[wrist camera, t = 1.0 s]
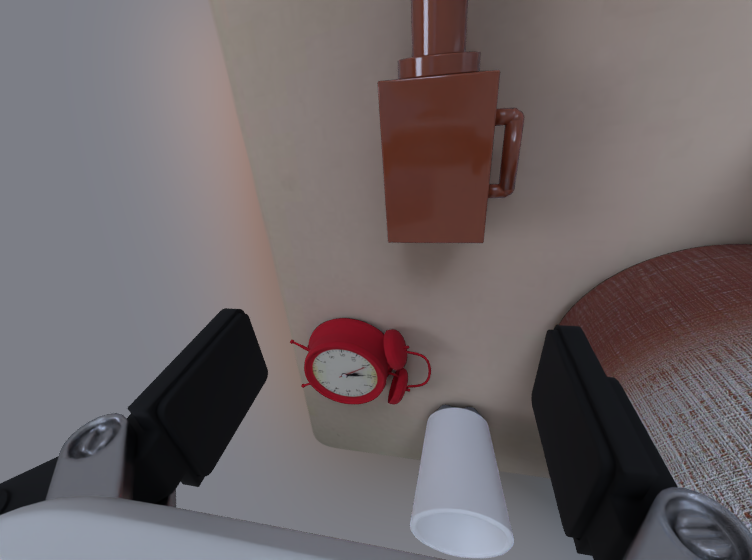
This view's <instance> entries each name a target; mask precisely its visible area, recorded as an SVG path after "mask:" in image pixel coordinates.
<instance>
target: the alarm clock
mask: <svg viewBox="0 0 752 560" xmlns="http://www.w3.org/2000/svg"><path fill="white" fill-rule="evenodd" d="M290 343H291V344H292V343H294V344H296V345H298V346H300V347H301V348H303V349H305V350H307V351H309V353H308V354H307V356H306V359H305V365H304V371H305V375H306V378H307V380H308V381H309V383H307V384H302V387H303V388H304V387H305V386H307V385H311V386H312V387H313V388H314V389H315V390H316V391H318V392H319V393H320V394H322V395H323V396H325V397H327V398H329V399H331V400H333V401H337V402H340V403H344V404H363V403H367V402H370V401H372V400H374V399H375V398H377V397H378V396H379V395H380V393H381V392H382V391H383V389H384V387H385V385H386V379H387V377H388V376H389V375H393V376H394V377H393V380H392V383H391V387H390V391H389V396H388V403H389V404H397V403H399V402H400V401H401V400H402V398H403V396H404V393H405V391H409V392H410V389H408V388H410V387H420V386H423V385H425V384H426V383H427V382H428V381H429V379H430V375H431V366H430V363H429V360H428V359H427V358H426V357H425V356H424V355H422V354H419V353H416V352H410V351H407V349H409V346H406V344H405V341H404V338H403V336H402V335H401V334H400V333H399V332H398V331H397V330H394V329H391V330H386V332H385V334H383V333H382V332H381V331H380V330H378V329H377V328H375V327H374V326H372V325H370V324H368V323H365V322H363V321H359V320H355V319H349V318H339V319H332V320H329V321H326V322H324V323H322V324H321V325H319V326H318V327H317V328H316V329H315V330H314V331H313V333H312V335H311V337H310V340H309V345H308V348H307V347H305V346H303V345H301V344H298V343H296V342H294V340H291V341H290ZM407 353H408V354H413V355H418V356H420V357H422V358H424V359H425V360H426V362H427V364H428V369H429V373H428V378H427V380H426V381H425V382H424V383H422V384H418V385H408V386H407V383H408V373H407V371H406V369H405V368H403V367H404V366H405V364H406V361H407ZM393 369H394V370H396V372H395V374H394V373H392V370H393Z"/></svg>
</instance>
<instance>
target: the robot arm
mask: <svg viewBox="0 0 752 560" xmlns="http://www.w3.org/2000/svg"><path fill="white" fill-rule="evenodd" d="M267 375H268V370H267V367H266V364H265V361H264V358H263V355H262V353H261V350H260V347H259V344H258V341H257V338H256V336H255V333H254V330H253V327H252V324H251V322H250V319H249V316H248V315H247V314H245V313H244V311H243V310H241V309H227V308H226V309H223V310H221V311H220V312H219V313H218V314H217V315H216V316H215V317H214V318H213V319H212V320H211V322H210V323H209V324H208V325H207V326H206V327H205V328H204V329H203V330H202V331H201V332H200V333H199V334H198V335H197V336H196V337H195V338H194V339H193V340H192V342H190V343H189V344H188V345H187V347H186V348H185V349H184V350H183V351H182V352H181V353H180V354H179V355H178V356H177V357H176V358H175V359H174V360H173V361H172V362H171V363H170V364H169V365H168V366H167V367H166V368H165V370H164V371H163V372H162V373H161V374H160V375H159V376H158V377H157V378H156V379H155V380H154V381H153V382H152V383H151V384H150V385H149V386H148V387H147V388H146V389H145V390H144V391H143V392H142V393H141V395H140V396H139V397H138V398H137V399H136V400H135V401H134V402H133V403H132V404H131V405H130V406H129V407H128V410H129V411H130V412H131V414H130V415H129V417H128V418H127V419H126V418H125V417H124V416H123V415H122V414H117V413H115V414H107V415H104V416H100V417H98V418H96V419H94V420H92V421H90V422H88V423H86V424H85V425H84V426H82V427H80V428H79V429H78V430H77V431H76V432H74V433H73V434H72V435H71V436H70V437H69V438H68V440H67V441H66V442H65V443H64V445H63V447H62V449H61V451H60V454H59V456H58V457H56V458H54V459H52V460H50V461H47V462H46V463H43V464H41V465H39V466H37V467H35V468H33V469H31V470H29V471H26V472H24V473H22V474H20V475H18V476H16V477H14V478H11V479H9V480H7V481H5V482H3V483H1V484H0V560H445V559H440V558H435V557H430V556H425V555H420V554H415V553H410V552H405V551H400V550H395V549H390V548H385V547H379V546H375V545H370V544H364V543H359V542H354V541H349V540H344V539H339V538H333V537H328V536H323V535H318V534H313V533H307V532H302V531H297V530H291V529H287V528H281V527H276V526H271V525H266V524H260V523H255V522H250V521H245V520H239V519H233V518H229V517H223V516H218V515H212V514H207V513H202V512H196V511H191V510H186V509H180V508H176V488H177V486H178V484H179V483H180V481H181V482H182V484H185V485H191V486H196V487H199V486H200V484H201V482H202V481H203V479H204V477H205V476H207V475H209V474H210V473H211V472H212V470H213V469H214V467H215V466H216V464H217V462H218V461H219V459H220V457H221V456H222V454H223V452H224V450H225V449H226V447H227V445H228V444H229V442H230V440H231V439H232V437H233V435H234V434H235V432H236V430H237V428H238V427H239V425H240V423H241V422H242V420H243V418H244V417H245V415H246V413H247V412H248V410H249V408H250V407H251V405H252V403H253V402H254V400H255V398H256V396H257V395H258V393H259V391H260V390H261V388H262V386H263V385H264V383H265V381H266V379H267ZM532 407H533V411H534V415H535V419H536V423H537V426H538V430H539V434H540V438H541V442H542V446H543V450H544V454H545V458H546V462H547V466H548V470H549V474H550V478H551V482H552V486H553V490H554V493H555V498H556V501H557V506H558V510H559V513H560V518H561V522H562V525H563V529H564V531H565V534H566V535H567V536H568V537H573V539H574V542H575V546H576V550H577V553H579V554H585V555H591V556H593V558H594V560H752V533H751V532H750V531H749V529H748V528H747V527H746V525H745V524H743V523H742V522H741V521H740V520H739V519H738V518H737V517H736V516H735V515H734V514H733V513H732V512H731V511H729V510H728V509H727V508H725V507H724V506H723V505H721V504H720V503H718V502H717V501H715V500H713V499H712V498H710V497H708V496H706V495H704V494H702V493H700V492H697V491H693V490H690V489H687V488H678V486H677V484H676V482H675V481H674V479H673V477H672V475H671V473H670V472H669V470H668V468H667V466H666V464H665V463H664V461H663V459H662V457H661V455H660V454H659V452H658V450H657V448H656V446H655V445H654V443H653V441H652V439H651V437H650V436H649V434H648V432H647V430H646V428H645V427H644V425H643V423H642V421H641V419H640V418H639V416H638V414H637V412H636V410H635V409H634V407H633V405H632V403H631V401H630V400H629V398H628V396H627V394H626V392H625V391H624V389H623V387H622V385H621V384H620V383H619V381H618V380H617V379H616V378H614V377H607V376H606V374H605V372H604V370H603V368H602V366H601V364H600V362H599V360H598V358H597V356H596V355H595V353H594V351H593V349H592V347H591V345H590V343H589V341H588V339H587V337H586V335H585V334H584V332H583V330H582V328H581V327H579V326H566V325H556V326H555V328H554V330H548V331H547V334H546V338H545V342H544V346H543V350H542V354H541V358H540V363H539V367H538V371H537V375H536V379H535V383H534V387H533V391H532Z"/></svg>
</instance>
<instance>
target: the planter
mask: <svg viewBox="0 0 752 560" xmlns="http://www.w3.org/2000/svg"><path fill="white" fill-rule="evenodd" d="M559 325H566V326H579V327H581V328H582V330H583V332H584V334H585V335H586V337H587V339H588V341H589V343H590V345H591V347H592V349H593V351H594V353H595V355H596V356H597V358H598V360H599V362H600V364H601V366H602V368H603V370H604V372H605V374H606V376H607V377H614V378H616V379H617V380H618V381H619V383H620V384H621V385H622V387H623V389H624V391H625V392H626V394H627V396H628V398H629V400H630V401H631V403H632V405H633V407H634V409H635V410H636V412H637V414H638V416H639V418H640V419H641V421H642V423H643V425H644V427H645V428H646V430H647V432H648V434H649V436H650V437H651V439H652V441H653V443H654V445H655V446H656V448H657V450H658V452H659V454H660V455H661V457H662V459H663V461H664V463H665V464H666V466H667V468H668V470H669V472H670V473H671V475H672V477H673V479H674V481H675V482H676V484H677V486H678V488H687V489H690V490H693V491H697V492H700V493H702V494H704V495H706V496H708V497H710V498H712V499H713V500H715V501H717V502H718V503H720V504H721V505H723V506H724V507H725V508H727V509H728V510H729V511H731V512H732V513H733V514H734V515H735V516H736V517H737V518H738V519H739V520H740V521H741V522H742V523H743V524H745V525H746V527H747V528H748V529H749V531H750V532H751V533H752V245H751V244H723V245H711V246H702V247H695V248H690V249H685V250H680V251H676V252H672V253H668V254H665V255H661V256H658V257H655V258H652V259H649V260H646V261H644V262H641V263H639V264H636V265H634V266H632V267H629V268H627V269H625V270H623V271H621V272H619V273H617V274H616V275H614V276H612V277H610V278H608V279H607V280H605V281H604V282H602V283H600V284H599V285H597V286H596V287H595V288H593V289H592V290H591V291H589V292H588V293H587V294H586V295H584V296H583V297H582V298H581V299H580V300H579V301H578V302H577V303H576V304H575V305H574V306H573V307H572V308H571V309H570V310H569V311H568V312H567V314H566V315H565V316H564V317H563V319H562V320H561V322H560V323H559Z"/></svg>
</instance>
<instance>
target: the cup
mask: <svg viewBox="0 0 752 560" xmlns="http://www.w3.org/2000/svg"><path fill="white" fill-rule="evenodd" d="M410 528H411V531H412V533H413V534H414V535H415V537H416V538H417V539H418V540H419V541H421V542H422V543H424V544H425V545H427V546H429V547H431V548H433V549H435V550H437V551H440V552H443V553H445V554H449V555H453V556H457V557H464V558H490V557H496V556H499V555H503V554H504V553H506V552H507V551H508V550H510V549H511V547H512V546H513V544H514V537H513V532H512V528H511V524H510V519H509V515H508V510H507V506H506V501H505V497H504V493H503V488H502V484H501V479H500V475H499V471H498V466H497V462H496V457H495V453H494V448H493V444H492V440H491V435H490V431H489V426H488V424H487V422H486V420H485V419H484V418H483V417H482V416H481V415H480V414H479V413H478V412H477V411H476V410H475V408H473V407H466V408H456V407H451V406H450V405H446V404H445V405H442V406H441V407H440V408H439V409H438V410H436V411H435V412H434V413H433V414H431V415H430V417H429V419H428V421H427V427H426V432H425V438H424V444H423V450H422V456H421V463H420V468H419V474H418V480H417V486H416V492H415V498H414V503H413V510H412V516H411V521H410Z"/></svg>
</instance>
